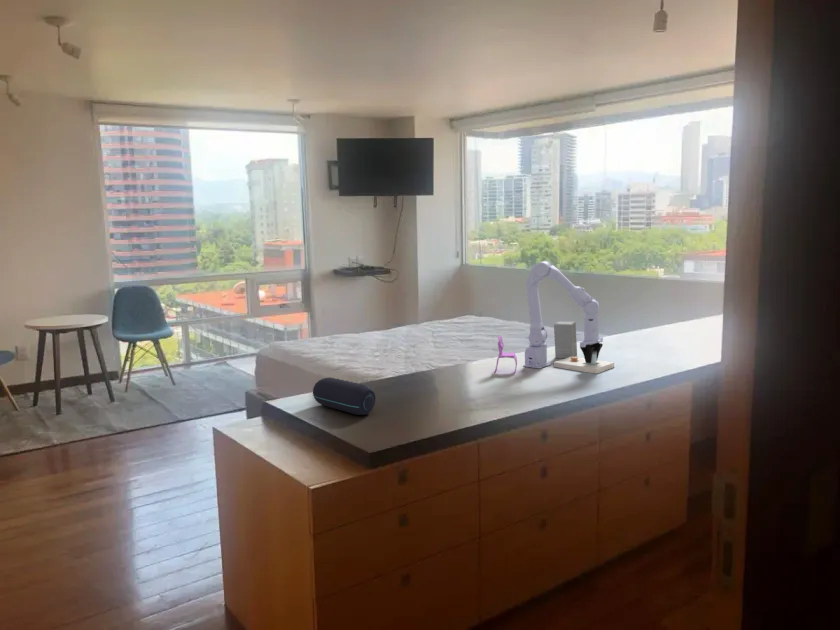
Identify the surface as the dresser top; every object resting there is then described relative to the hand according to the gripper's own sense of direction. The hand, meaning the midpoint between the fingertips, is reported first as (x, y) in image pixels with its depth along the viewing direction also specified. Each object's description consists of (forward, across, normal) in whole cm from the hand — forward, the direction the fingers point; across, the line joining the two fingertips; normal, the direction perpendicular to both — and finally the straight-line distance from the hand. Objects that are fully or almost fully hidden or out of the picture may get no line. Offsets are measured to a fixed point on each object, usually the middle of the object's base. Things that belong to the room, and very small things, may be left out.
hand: (591, 361), depth 269 cm
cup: (+3, 0, 0) cm, 3 cm away
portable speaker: (+3, -103, +33) cm, 108 cm away
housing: (+3, 0, +4) cm, 4 cm away
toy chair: (+3, -26, +24) cm, 36 cm away
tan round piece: (+3, 0, +8) cm, 8 cm away
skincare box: (+3, +12, +20) cm, 24 cm away
